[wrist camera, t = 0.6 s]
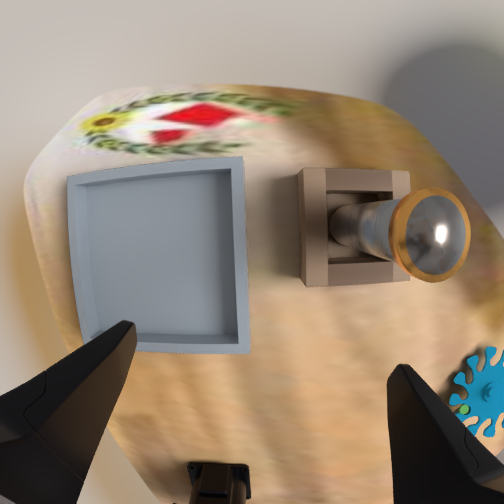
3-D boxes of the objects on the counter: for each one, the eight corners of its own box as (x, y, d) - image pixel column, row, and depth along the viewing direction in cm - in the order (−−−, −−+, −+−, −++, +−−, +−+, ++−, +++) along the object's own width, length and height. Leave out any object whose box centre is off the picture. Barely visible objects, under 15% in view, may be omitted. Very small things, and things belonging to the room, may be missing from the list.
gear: (504, 325, 22) (545, 395, 16) (494, 334, 26) (529, 395, 20) (425, 391, 24) (464, 463, 18) (425, 390, 29) (458, 452, 22)
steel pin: (371, 249, 23) (468, 279, 11) (326, 250, 23) (397, 285, 11) (370, 201, 23) (469, 190, 10) (325, 201, 23) (397, 185, 10)
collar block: (393, 273, 23) (410, 280, 20) (300, 278, 23) (306, 287, 20) (392, 176, 22) (409, 171, 19) (297, 174, 22) (303, 168, 19)
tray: (250, 340, 24) (250, 353, 21) (97, 335, 24) (84, 346, 22) (244, 162, 22) (242, 156, 20) (82, 179, 23) (67, 176, 20)
